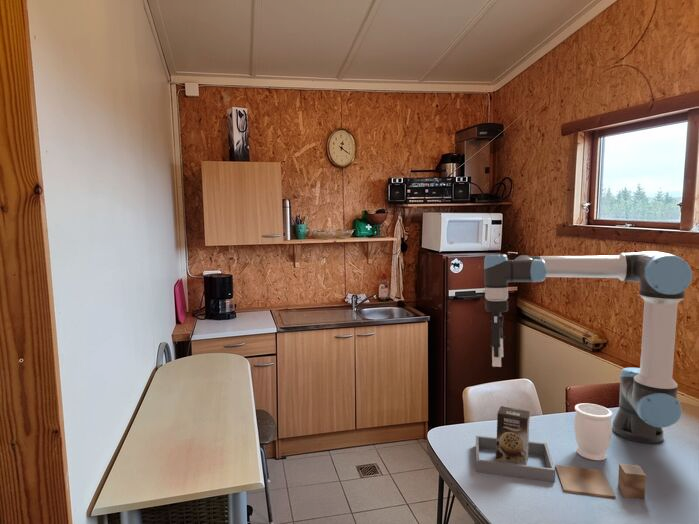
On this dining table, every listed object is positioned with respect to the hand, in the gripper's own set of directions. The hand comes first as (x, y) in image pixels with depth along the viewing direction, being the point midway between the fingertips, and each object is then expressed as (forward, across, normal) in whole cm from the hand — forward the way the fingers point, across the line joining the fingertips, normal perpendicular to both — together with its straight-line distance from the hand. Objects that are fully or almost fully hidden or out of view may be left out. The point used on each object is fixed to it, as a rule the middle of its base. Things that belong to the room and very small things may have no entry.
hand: (498, 361), depth 155 cm
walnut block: (+30, +19, +36) cm, 50 cm away
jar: (+29, 0, +28) cm, 40 cm away
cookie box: (+28, +13, +4) cm, 31 cm away
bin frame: (+28, +14, +4) cm, 32 cm away
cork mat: (+29, +18, +24) cm, 42 cm away
